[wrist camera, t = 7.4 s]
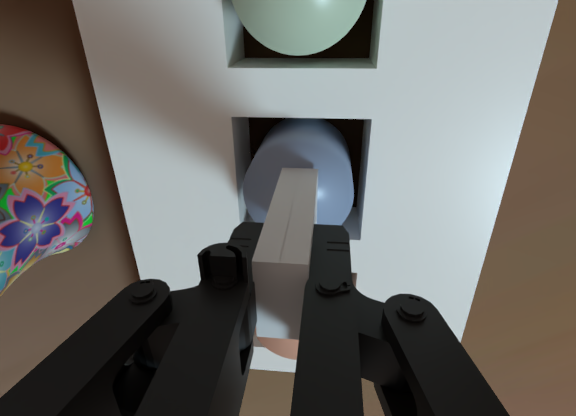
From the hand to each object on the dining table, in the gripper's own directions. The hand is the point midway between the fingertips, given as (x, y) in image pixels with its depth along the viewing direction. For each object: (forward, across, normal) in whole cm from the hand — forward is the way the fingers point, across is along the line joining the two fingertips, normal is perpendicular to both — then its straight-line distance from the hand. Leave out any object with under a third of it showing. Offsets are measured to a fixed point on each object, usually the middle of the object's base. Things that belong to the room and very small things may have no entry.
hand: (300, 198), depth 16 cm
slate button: (+5, 0, 0) cm, 5 cm away
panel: (+5, 0, 0) cm, 5 cm away
